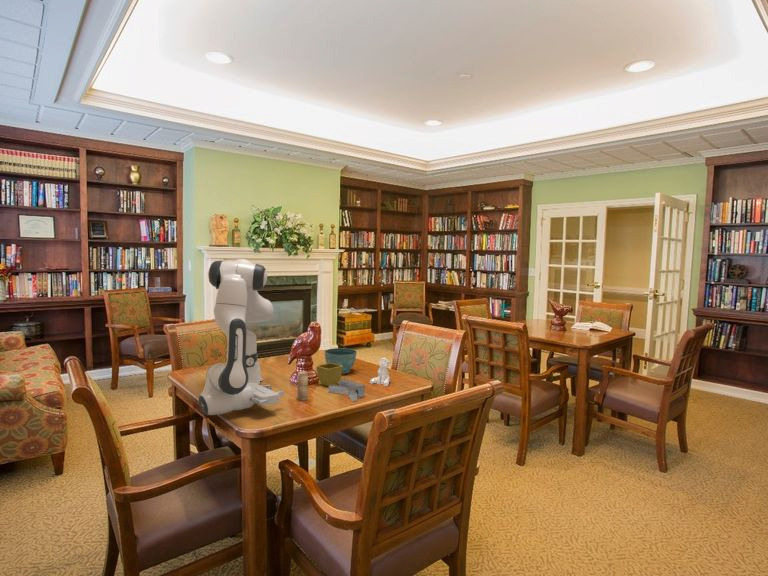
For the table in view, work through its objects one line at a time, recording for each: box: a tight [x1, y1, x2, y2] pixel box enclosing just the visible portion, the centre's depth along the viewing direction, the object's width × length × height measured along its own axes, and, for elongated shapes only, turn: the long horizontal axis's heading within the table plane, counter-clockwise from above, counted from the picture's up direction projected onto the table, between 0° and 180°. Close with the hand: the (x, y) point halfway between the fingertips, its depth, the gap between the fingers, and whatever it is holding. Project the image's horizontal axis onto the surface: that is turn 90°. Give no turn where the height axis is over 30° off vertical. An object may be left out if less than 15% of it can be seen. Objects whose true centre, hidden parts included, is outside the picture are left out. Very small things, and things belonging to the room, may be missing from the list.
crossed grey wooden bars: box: [328, 378, 366, 402], centre depth 200 cm, size 18×8×5 cm, turn 43°
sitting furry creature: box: [369, 357, 392, 387], centre depth 219 cm, size 10×9×12 cm
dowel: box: [297, 371, 309, 402], centre depth 192 cm, size 4×4×11 cm
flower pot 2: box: [316, 363, 343, 388], centre depth 214 cm, size 9×9×9 cm
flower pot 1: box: [324, 347, 358, 375], centre depth 237 cm, size 16×16×11 cm
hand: (277, 389), depth 184 cm, fingers open, 8 cm apart
